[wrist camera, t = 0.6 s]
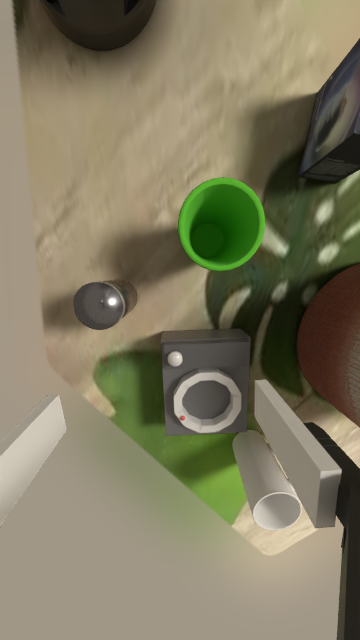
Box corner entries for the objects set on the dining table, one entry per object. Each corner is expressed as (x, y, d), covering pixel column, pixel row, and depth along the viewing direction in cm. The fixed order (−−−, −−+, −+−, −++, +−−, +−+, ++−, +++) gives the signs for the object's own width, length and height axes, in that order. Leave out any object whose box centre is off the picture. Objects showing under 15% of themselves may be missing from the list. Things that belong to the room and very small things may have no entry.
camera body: (162, 331, 36) (159, 346, 28) (240, 328, 36) (256, 342, 29) (167, 415, 39) (165, 447, 32) (238, 412, 39) (251, 443, 32)
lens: (100, 279, 34) (69, 282, 24) (136, 278, 34) (119, 280, 24) (104, 315, 35) (76, 331, 25) (139, 313, 35) (124, 329, 25)
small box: (314, 90, 29) (391, -11, 18) (360, 98, 29) (460, 3, 19) (294, 177, 31) (354, 130, 21) (337, 184, 31) (416, 141, 21)
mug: (241, 463, 42) (267, 538, 30) (223, 439, 40) (243, 507, 29) (286, 438, 41) (332, 505, 29) (270, 412, 39) (310, 472, 28)
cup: (194, 281, 34) (202, 286, 23) (166, 228, 32) (162, 205, 21) (245, 254, 33) (279, 245, 22) (220, 197, 31) (243, 157, 20)
